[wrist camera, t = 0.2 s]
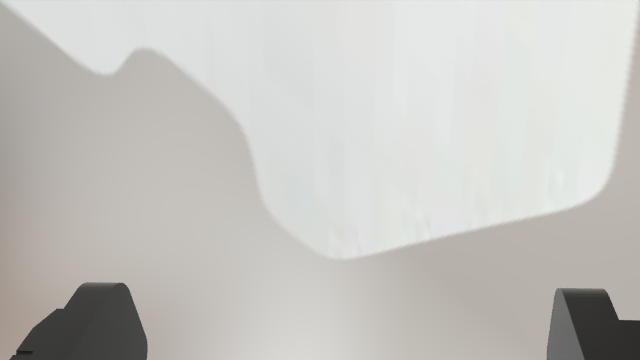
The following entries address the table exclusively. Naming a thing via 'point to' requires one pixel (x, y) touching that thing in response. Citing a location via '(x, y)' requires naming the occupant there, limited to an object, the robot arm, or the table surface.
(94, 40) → the table surface
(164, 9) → the table surface
